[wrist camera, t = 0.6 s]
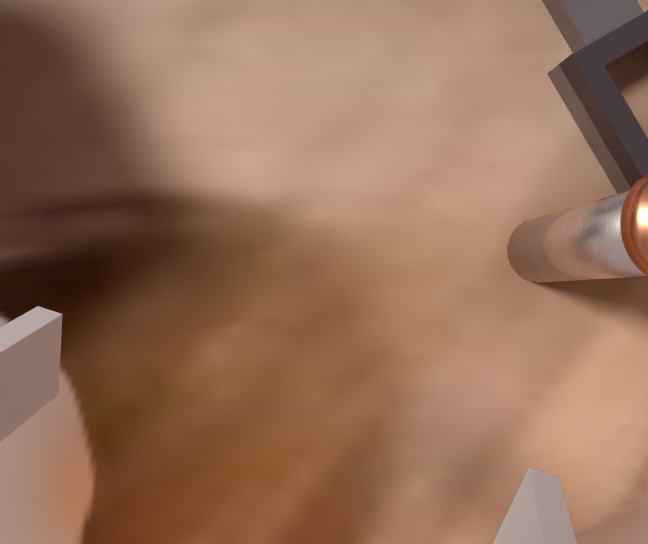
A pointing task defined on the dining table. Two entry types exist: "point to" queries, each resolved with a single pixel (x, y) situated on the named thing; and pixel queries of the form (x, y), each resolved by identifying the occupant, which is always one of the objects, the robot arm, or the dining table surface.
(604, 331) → the dining table surface
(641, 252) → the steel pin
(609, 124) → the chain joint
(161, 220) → the dining table surface
